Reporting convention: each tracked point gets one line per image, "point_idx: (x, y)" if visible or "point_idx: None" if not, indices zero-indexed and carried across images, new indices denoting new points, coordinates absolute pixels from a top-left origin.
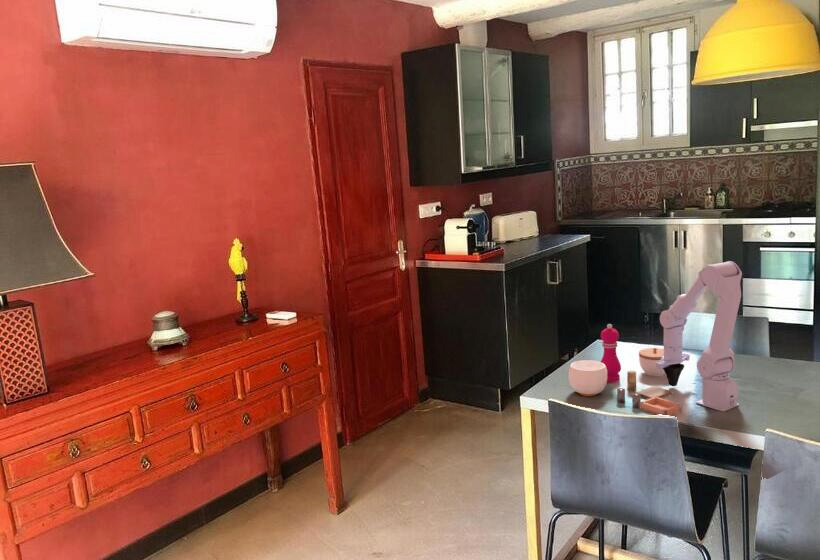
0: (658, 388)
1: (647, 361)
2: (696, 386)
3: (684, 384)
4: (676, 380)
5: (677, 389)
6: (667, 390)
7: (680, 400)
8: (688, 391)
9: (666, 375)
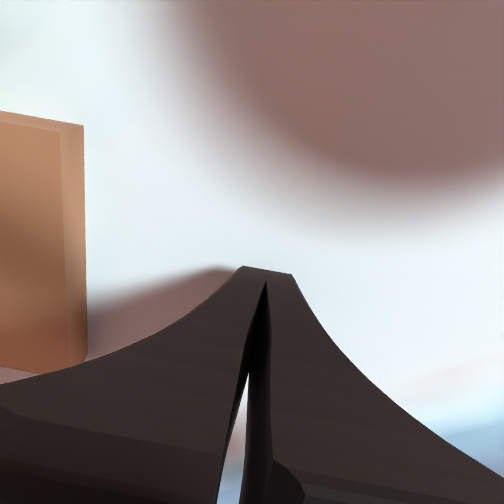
0: (24, 229)
1: None
2: (455, 438)
3: (460, 334)
4: (247, 403)
5: None
6: (52, 335)
7: None
8: None
9: (179, 322)
